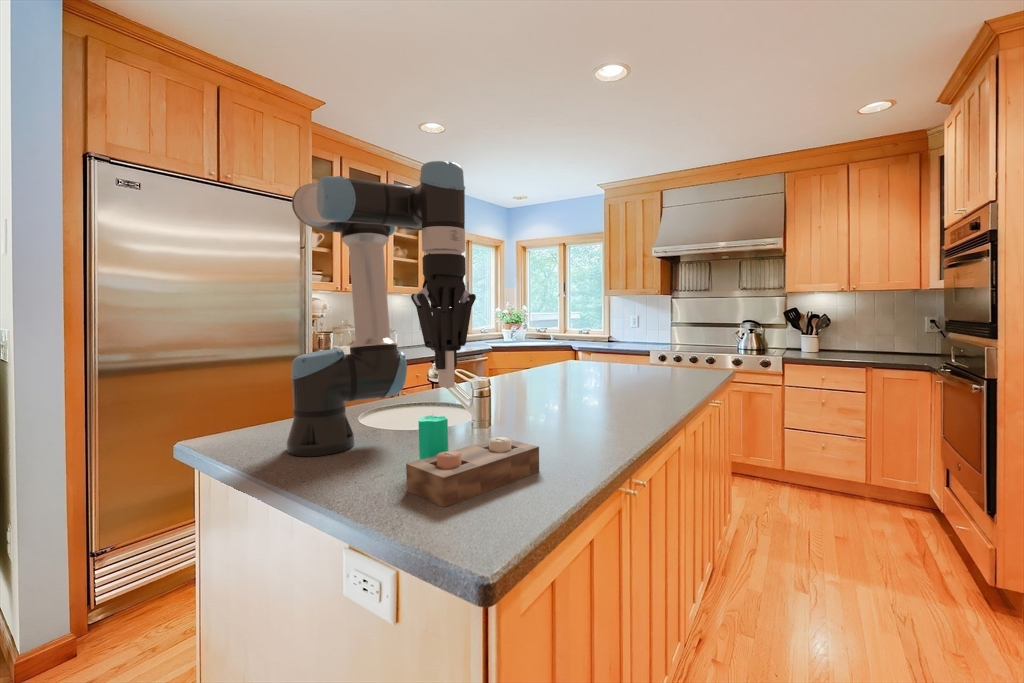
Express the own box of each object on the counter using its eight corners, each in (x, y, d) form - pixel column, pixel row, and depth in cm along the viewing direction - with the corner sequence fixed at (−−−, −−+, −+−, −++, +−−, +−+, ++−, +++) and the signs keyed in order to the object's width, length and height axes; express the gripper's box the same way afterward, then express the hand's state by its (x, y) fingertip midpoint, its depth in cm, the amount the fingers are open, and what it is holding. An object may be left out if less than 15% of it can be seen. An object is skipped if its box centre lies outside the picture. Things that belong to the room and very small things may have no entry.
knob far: (485, 470, 97) (484, 440, 97) (500, 465, 100) (500, 435, 100) (500, 475, 94) (500, 444, 94) (516, 470, 97) (515, 439, 97)
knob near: (432, 488, 88) (431, 454, 88) (451, 482, 91) (450, 449, 91) (447, 494, 85) (446, 459, 85) (466, 487, 88) (466, 454, 88)
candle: (443, 473, 97) (441, 414, 96) (415, 472, 98) (413, 413, 97) (452, 464, 103) (451, 408, 102) (426, 462, 104) (424, 407, 103)
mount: (407, 490, 88) (406, 463, 88) (501, 459, 105) (500, 437, 105) (444, 507, 80) (443, 477, 80) (539, 471, 98) (539, 446, 97)
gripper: (426, 249, 78) (429, 394, 80) (485, 255, 87) (487, 384, 89) (400, 253, 83) (403, 389, 85) (459, 258, 93) (461, 380, 94)
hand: (446, 386), depth 87 cm, fingers closed
